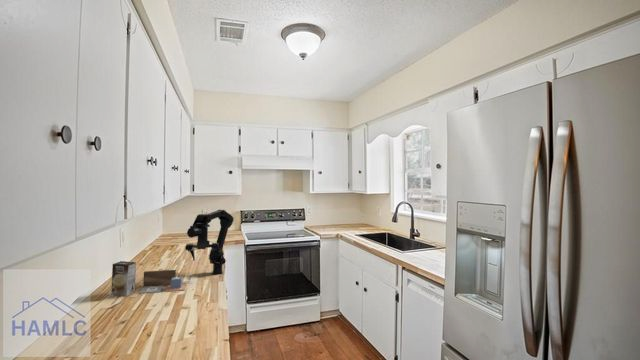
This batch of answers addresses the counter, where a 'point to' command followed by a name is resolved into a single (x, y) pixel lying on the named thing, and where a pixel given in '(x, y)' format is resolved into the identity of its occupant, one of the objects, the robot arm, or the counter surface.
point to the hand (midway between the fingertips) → (202, 260)
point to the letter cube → (176, 282)
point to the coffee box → (123, 278)
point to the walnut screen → (158, 277)
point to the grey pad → (151, 289)
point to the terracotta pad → (176, 289)
